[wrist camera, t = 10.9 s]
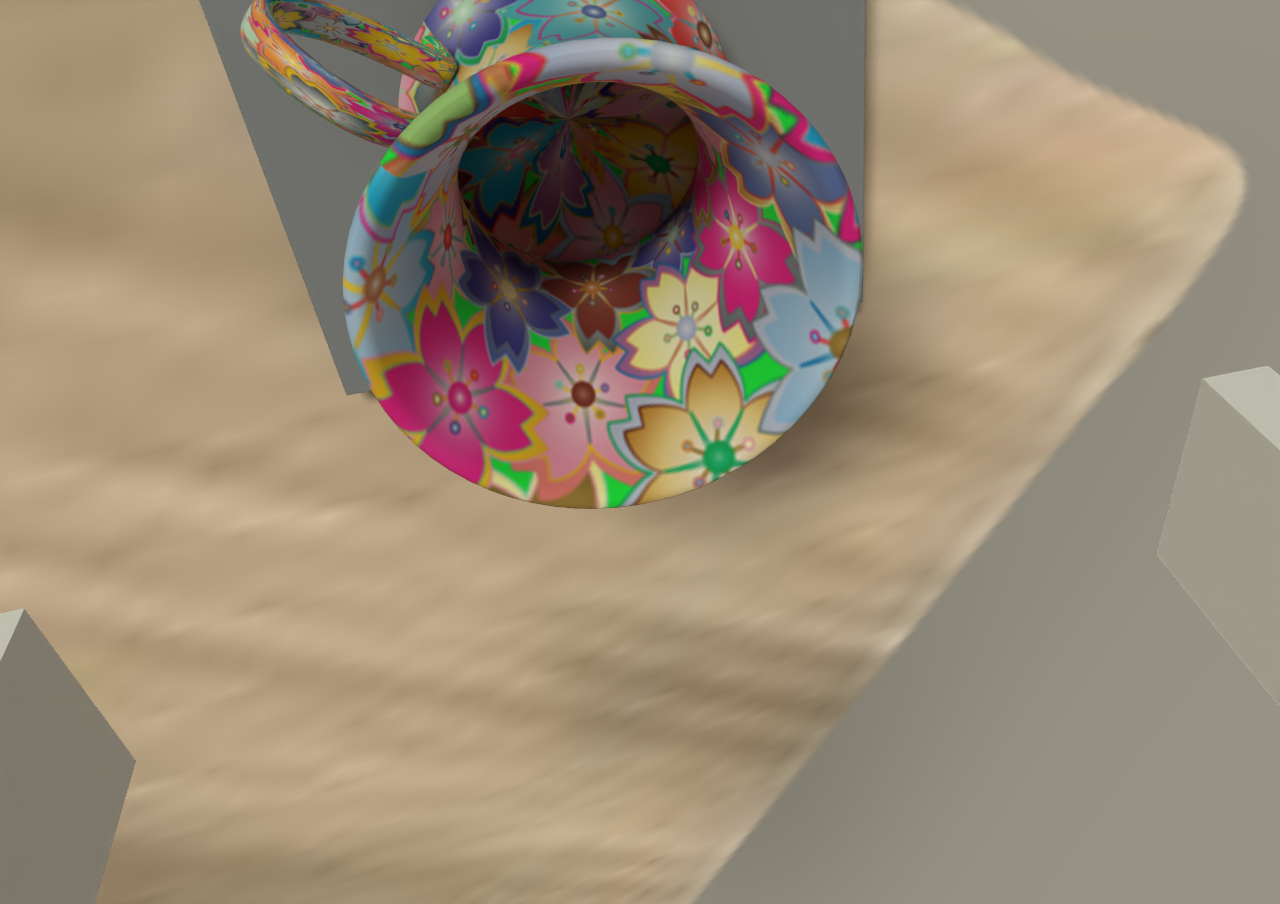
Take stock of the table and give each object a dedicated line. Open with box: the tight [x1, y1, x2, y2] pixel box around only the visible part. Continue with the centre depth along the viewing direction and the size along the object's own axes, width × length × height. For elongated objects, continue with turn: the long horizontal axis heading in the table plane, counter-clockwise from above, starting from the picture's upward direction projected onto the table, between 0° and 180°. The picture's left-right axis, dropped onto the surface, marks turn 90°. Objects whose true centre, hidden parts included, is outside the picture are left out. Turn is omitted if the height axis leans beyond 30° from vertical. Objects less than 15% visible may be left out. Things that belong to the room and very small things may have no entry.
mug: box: [240, 0, 863, 509], centre depth 22 cm, size 12×9×11 cm
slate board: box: [199, 0, 866, 395], centre depth 26 cm, size 16×16×1 cm
